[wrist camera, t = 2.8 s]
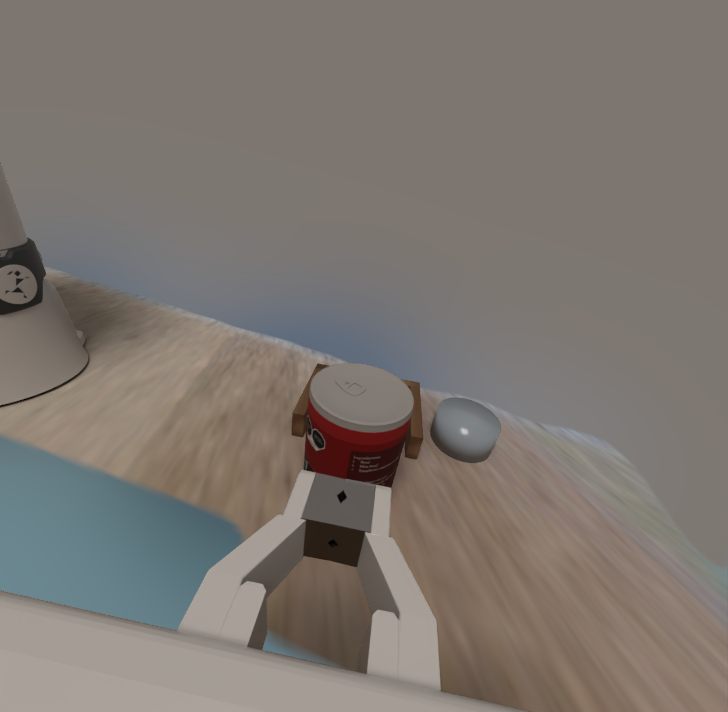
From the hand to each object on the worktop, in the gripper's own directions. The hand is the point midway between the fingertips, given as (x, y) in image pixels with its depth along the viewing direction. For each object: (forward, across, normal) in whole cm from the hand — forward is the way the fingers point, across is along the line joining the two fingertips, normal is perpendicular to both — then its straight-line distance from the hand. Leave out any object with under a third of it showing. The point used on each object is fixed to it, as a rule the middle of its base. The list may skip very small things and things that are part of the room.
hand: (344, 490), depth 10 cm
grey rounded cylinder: (+22, +12, -16) cm, 29 cm away
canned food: (+12, 0, -16) cm, 20 cm away
